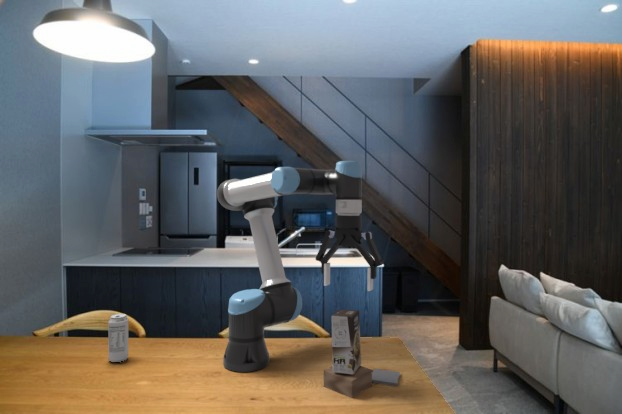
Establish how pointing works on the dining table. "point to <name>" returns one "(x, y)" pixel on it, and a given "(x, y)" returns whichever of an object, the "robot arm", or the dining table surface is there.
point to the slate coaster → (385, 377)
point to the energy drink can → (118, 337)
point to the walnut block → (348, 381)
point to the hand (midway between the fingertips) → (348, 287)
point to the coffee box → (346, 341)
